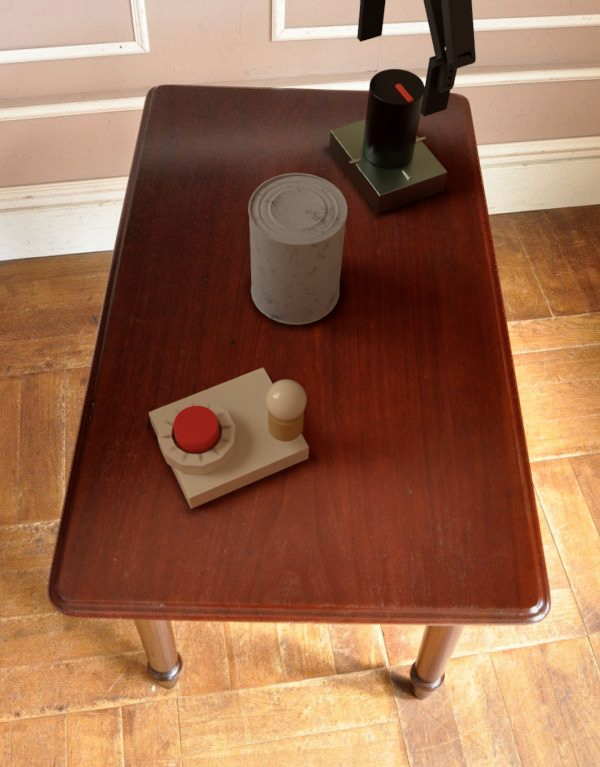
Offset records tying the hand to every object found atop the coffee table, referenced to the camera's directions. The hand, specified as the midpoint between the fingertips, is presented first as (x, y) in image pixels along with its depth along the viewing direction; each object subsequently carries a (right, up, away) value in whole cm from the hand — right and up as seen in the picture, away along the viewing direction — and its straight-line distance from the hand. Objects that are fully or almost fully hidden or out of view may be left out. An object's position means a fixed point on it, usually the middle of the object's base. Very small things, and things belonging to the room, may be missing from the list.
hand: (400, 72), depth 92 cm
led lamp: (-12, -37, -13) cm, 41 cm away
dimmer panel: (0, -8, +11) cm, 14 cm away
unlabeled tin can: (-11, -23, +1) cm, 26 cm away
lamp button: (-20, -38, -13) cm, 45 cm away
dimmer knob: (0, -6, +9) cm, 11 cm away
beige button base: (-18, -39, -10) cm, 44 cm away
